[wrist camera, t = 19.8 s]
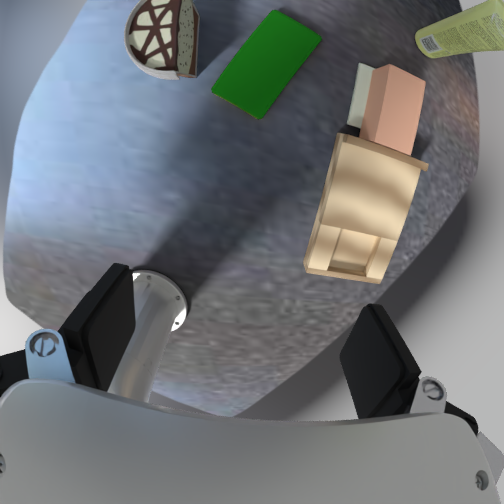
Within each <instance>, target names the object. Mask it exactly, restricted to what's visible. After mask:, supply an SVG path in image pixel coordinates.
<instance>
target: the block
mask: <svg viewBox="0 0 504 504" xmlns="http://www.w3.org/2000/svg"><path fill="white" fill-rule="evenodd" d="M425 83H426V82H425V81H423V80H421V79H420V78H418V77H416V76H414V75H412V74H410V73H408V72H406V71H404V70H402V69H400V68H398V67H395V66H393V65H391V64H389V65H386V66H383V67H380V68H377V69H374V70H373V71H372V77H371V82H370V88H369V93H368V98H367V103H366V107H365V112H364V117H363V121H362V126H361V130H360V134H359V138H361V139H364V140H367V141H370V142H373V143H376V144H379V145H381V146H384V147H387V148H390V149H392V150H395V151H398V152H401V153H404V154H407V155H410V156H411V152H412V148H413V144H414V140H415V136H416V131H417V127H418V122H419V117H420V112H421V107H422V101H423V96H424V89H425Z"/></svg>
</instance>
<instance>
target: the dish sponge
mask: <svg viewBox="0 0 504 504" xmlns="http://www.w3.org/2000/svg"><path fill="white" fill-rule="evenodd" d="M321 40H322V38H321V36H320V35H318V34H317V33H315V32H314V31H312V30H310V29H309V28H307V27H306V26H304V25H302V24H301V23H299V22H297V21H295V20H294V19H292V18H290V17H288V16H287V15H285V14H283V13H281V12H279V11H277V10H272V11H271V12H270V13H269V15H268V16H267V17H266V18H265V19H264V20H263V21H262V23H261V24H260V25H259V26H258V27H257V29H256V30H255V31H254V32H253V33H252V35H251V36H250V37H249V38H248V40H247V41H246V42H245V43H244V45H243V46H242V47H241V48H240V50H239V51H238V52H237V54H236V55H235V56H234V58H233V59H232V60H231V62H230V63H229V64H228V66H227V67H226V69H225V70H224V71H223V73H222V74H221V76H220V77H219V78H218V80H217V81H216V83H215V84H214V86H213V87H212V89H211V90H212V93H214V94H215V95H217V96H219V97H221V98H223V99H224V100H226V101H228V102H230V103H231V104H233V105H235V106H237V107H238V108H240V109H242V110H243V111H245V112H247V113H248V114H250V115H252V116H253V117H255V118H257V119H262V118H263V116H264V115H265V114H266V112H267V111H268V109H269V108H270V107H271V105H272V104H273V102H274V101H275V100H276V98H277V97H278V96H279V94H280V93H281V92H282V90H283V89H284V87H285V86H286V85H287V83H288V82H289V81H290V79H291V78H292V77H293V76H294V74H295V73H296V72H297V70H298V69H299V68H300V66H301V65H302V64H303V63H304V61H305V60H306V59H307V58H308V56H309V55H310V54H311V53H312V51H313V50H314V49H315V48H316V46H317V45H318V44H319V43H320V41H321Z"/></svg>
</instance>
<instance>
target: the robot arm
mask: <svg viewBox="0 0 504 504" xmlns="http://www.w3.org/2000/svg"><path fill="white" fill-rule="evenodd" d="M187 308H188V306H187V301H186V298H185V296H184V294H183V292H182V291H181V289H180V288H179V287H178V286H177V285H176V283H174V282H173V281H172V280H171V279H169V278H168V277H166V276H164V275H162V274H160V273H158V272H154V271H150V270H137V271H132V270H130V269H129V266H128V265H124V264H119V263H114V264H113V265H112V266H111V267H110V268H109V269H108V270H107V272H106V273H105V274H104V275H103V276H102V278H101V279H100V280H99V281H98V282H97V284H96V285H95V286H94V287H93V288H92V290H91V291H89V292H88V293H87V294H86V295H85V296H84V298H83V299H82V300H81V301H80V303H79V304H78V305H77V306H76V308H75V309H74V310H73V312H72V313H71V314H70V316H69V317H68V318H67V319H66V321H65V322H64V324H63V325H62V326H61V328H60V329H59V330H58V332H57V331H55V330H53V329H40V330H38V331H35V332H34V333H32V334H31V335H30V336H29V337H28V339H27V341H26V344H25V349H24V350H21V351H17V352H13V353H10V354H6V355H2V356H0V504H501V502H500V498H499V495H498V491H497V488H496V483H497V481H498V479H499V477H500V475H501V472H502V470H503V468H504V455H503V454H502V452H501V451H500V450H499V449H498V448H497V447H496V446H495V445H494V444H493V443H492V442H491V441H490V440H489V439H488V438H487V437H485V435H484V434H482V432H479V433H478V425H477V422H476V420H475V418H474V417H473V416H471V415H469V414H468V413H466V412H464V411H463V410H461V409H459V408H457V407H455V406H454V405H452V404H450V403H449V402H447V401H446V397H447V392H446V389H445V387H444V386H443V385H442V383H441V382H439V381H438V380H437V379H435V378H432V377H423V378H422V379H419V377H418V376H419V375H420V374H421V370H420V368H419V366H418V365H417V363H416V361H415V359H414V357H413V356H412V354H411V352H410V350H409V349H408V347H407V345H406V344H405V342H404V340H403V339H402V337H401V335H400V333H399V332H398V330H397V329H396V327H395V325H394V324H393V322H392V320H391V319H390V317H389V316H388V314H387V312H386V311H385V309H384V308H383V306H382V305H379V304H368V305H367V306H365V307H363V309H362V311H361V313H360V315H359V317H358V319H357V321H356V323H355V325H354V327H353V329H352V331H351V333H350V335H349V337H348V339H347V341H346V343H345V345H344V347H343V349H342V350H341V353H340V361H341V364H342V367H343V370H344V374H345V376H346V380H347V383H348V386H349V389H350V392H351V396H352V399H353V402H354V405H355V409H356V412H357V415H358V418H359V419H354V420H341V421H271V420H255V419H242V418H233V417H224V416H216V415H209V414H202V413H196V412H189V411H184V410H179V409H174V408H169V407H164V406H159V405H155V404H151V403H148V400H149V396H150V393H151V390H152V387H153V384H154V381H155V378H156V374H157V371H158V368H159V365H160V362H161V359H162V356H163V353H164V350H165V347H166V344H167V341H168V339H169V336H170V333H171V331H173V330H176V329H177V328H179V327H180V326H181V325H182V324H183V322H184V320H185V318H186V315H187Z"/></svg>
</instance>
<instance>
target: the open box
mask: <svg viewBox="0 0 504 504" xmlns="http://www.w3.org/2000/svg"><path fill="white" fill-rule="evenodd" d="M428 165H429V164H427V163H424V162H422V161H420V160H417V159H415V158H413V157H410V156H408V155H405V154H403V153H400V152H398V151H395V150H392V149H390V148H387V147H384V146H381V145H379V144H376V143H373V142H370V141H367V140H364V139H361V138H358V137H354V136H351V135H348V134H342V133H337V136H336V140H335V144H334V149H333V153H332V157H331V161H330V165H329V169H328V173H327V177H326V181H325V185H324V189H323V193H322V197H321V201H320V204H319V208H318V212H317V215H316V219H315V223H314V226H313V230H312V233H311V237H310V240H309V244H308V247H307V251H306V254H305V257H304V261H303V263H304V266H305V270H306V273H312V274H319V275H325V276H332V277H338V278H344V279H351V280H357V281H364V282H371V283H377V284H380V282H381V280H382V278H383V276H384V273H385V271H386V269H387V266H388V264H389V261H390V259H391V256H392V254H393V251H394V249H395V246H396V244H397V241H398V239H399V236H400V233H401V230H402V228H403V225H404V222H405V219H406V216H407V213H408V210H409V207H410V204H411V201H412V198H413V195H414V192H415V188H416V185H417V182H418V178H419V175H420V171H421V169H422V170H424V171H427V169H428Z"/></svg>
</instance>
